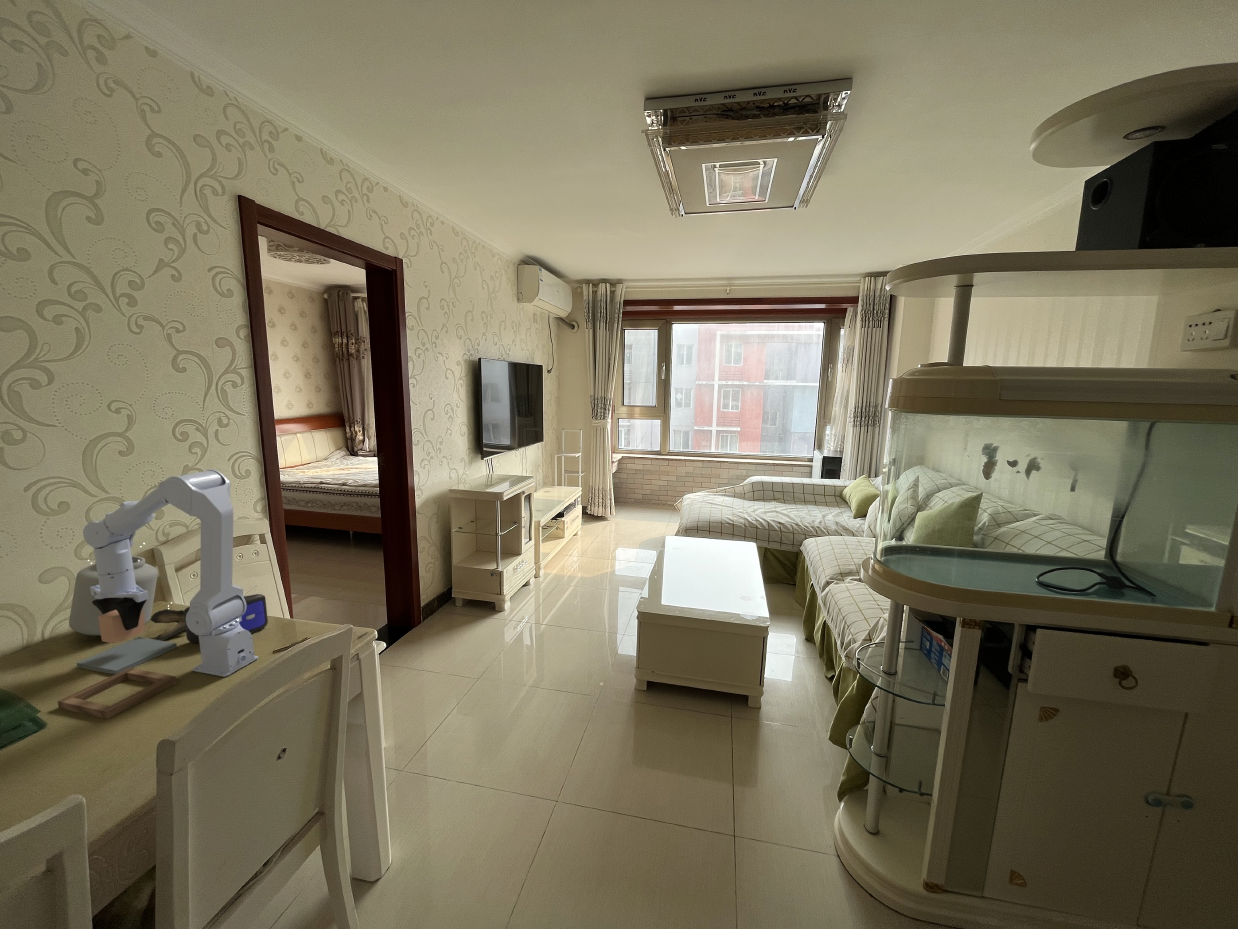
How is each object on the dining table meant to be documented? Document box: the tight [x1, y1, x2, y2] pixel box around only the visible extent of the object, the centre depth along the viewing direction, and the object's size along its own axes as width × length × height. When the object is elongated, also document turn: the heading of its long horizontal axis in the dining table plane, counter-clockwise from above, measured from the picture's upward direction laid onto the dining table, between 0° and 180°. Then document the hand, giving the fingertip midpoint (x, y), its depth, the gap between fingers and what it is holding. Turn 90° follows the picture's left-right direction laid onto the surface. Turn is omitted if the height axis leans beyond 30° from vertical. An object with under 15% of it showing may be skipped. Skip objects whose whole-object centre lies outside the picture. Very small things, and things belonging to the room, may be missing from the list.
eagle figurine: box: [149, 608, 186, 641], centre depth 127 cm, size 8×7×9 cm
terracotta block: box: [98, 608, 147, 644], centre depth 114 cm, size 4×6×6 cm, turn 168°
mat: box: [76, 636, 178, 675], centre depth 115 cm, size 12×12×1 cm
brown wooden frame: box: [57, 667, 178, 720], centre depth 101 cm, size 13×12×2 cm
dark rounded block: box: [183, 593, 269, 644], centre depth 124 cm, size 16×5×9 cm, turn 123°
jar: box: [68, 542, 173, 636], centre depth 127 cm, size 19×15×25 cm
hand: (124, 627), depth 114 cm, fingers closed on terracotta block, 4 cm apart
